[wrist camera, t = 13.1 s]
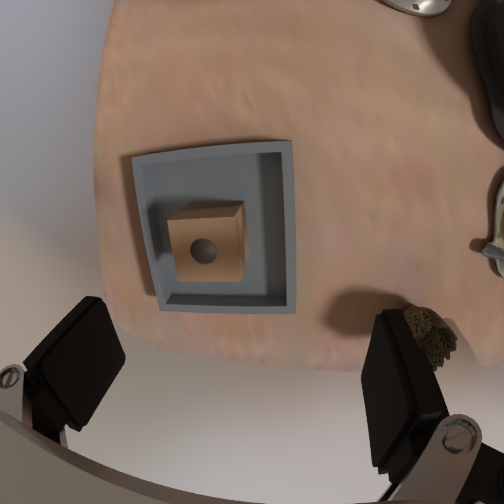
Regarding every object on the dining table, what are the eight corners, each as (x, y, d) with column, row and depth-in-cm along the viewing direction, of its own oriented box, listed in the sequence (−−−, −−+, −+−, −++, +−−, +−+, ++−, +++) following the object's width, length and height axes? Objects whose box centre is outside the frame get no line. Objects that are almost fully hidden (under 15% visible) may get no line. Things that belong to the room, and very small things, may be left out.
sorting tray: (144, 155, 29) (131, 157, 27) (291, 140, 27) (291, 140, 24) (168, 298, 36) (160, 310, 33) (295, 299, 34) (295, 313, 31)
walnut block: (188, 204, 30) (166, 220, 25) (244, 200, 29) (233, 216, 24) (196, 256, 32) (178, 281, 27) (249, 255, 32) (240, 282, 26)
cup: (372, 315, 34) (387, 358, 26) (417, 278, 31) (443, 315, 24) (399, 345, 35) (415, 386, 28) (440, 313, 32) (464, 350, 25)
